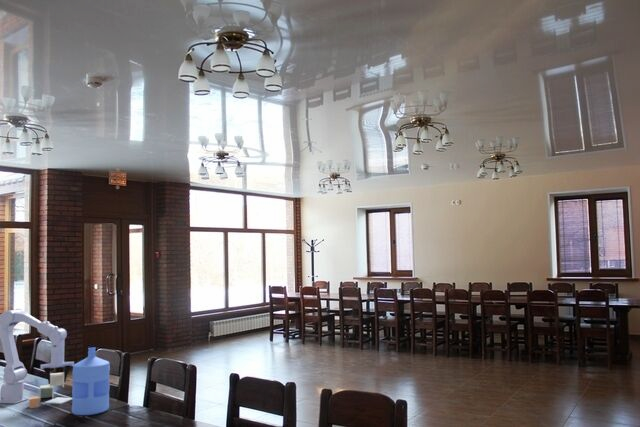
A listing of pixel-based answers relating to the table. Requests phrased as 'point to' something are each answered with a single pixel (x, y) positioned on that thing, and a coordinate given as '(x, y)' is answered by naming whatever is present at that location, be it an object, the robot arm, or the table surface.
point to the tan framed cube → (56, 379)
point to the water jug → (90, 385)
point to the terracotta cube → (34, 402)
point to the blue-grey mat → (58, 400)
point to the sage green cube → (46, 391)
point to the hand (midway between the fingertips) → (57, 382)
